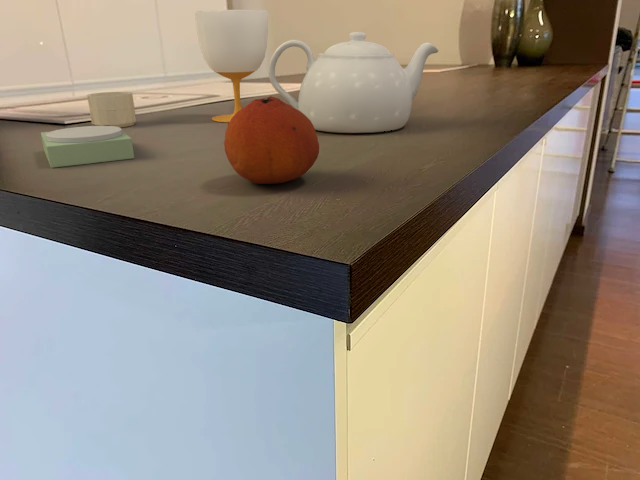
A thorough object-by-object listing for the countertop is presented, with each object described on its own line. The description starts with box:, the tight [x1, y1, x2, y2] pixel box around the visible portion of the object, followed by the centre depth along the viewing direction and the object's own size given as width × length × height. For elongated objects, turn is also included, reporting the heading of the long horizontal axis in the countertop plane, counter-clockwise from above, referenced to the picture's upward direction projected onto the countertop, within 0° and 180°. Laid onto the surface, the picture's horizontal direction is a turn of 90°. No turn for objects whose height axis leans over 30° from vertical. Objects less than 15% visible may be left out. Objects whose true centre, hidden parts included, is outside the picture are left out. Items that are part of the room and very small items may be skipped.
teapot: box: [267, 31, 439, 134], centre depth 81 cm, size 19×18×14 cm
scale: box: [40, 125, 135, 169], centre depth 65 cm, size 11×9×3 cm
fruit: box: [223, 95, 320, 185], centre depth 51 cm, size 9×9×8 cm
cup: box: [194, 9, 269, 124], centre depth 90 cm, size 12×12×17 cm
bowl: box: [86, 91, 137, 129], centre depth 87 cm, size 7×7×5 cm
